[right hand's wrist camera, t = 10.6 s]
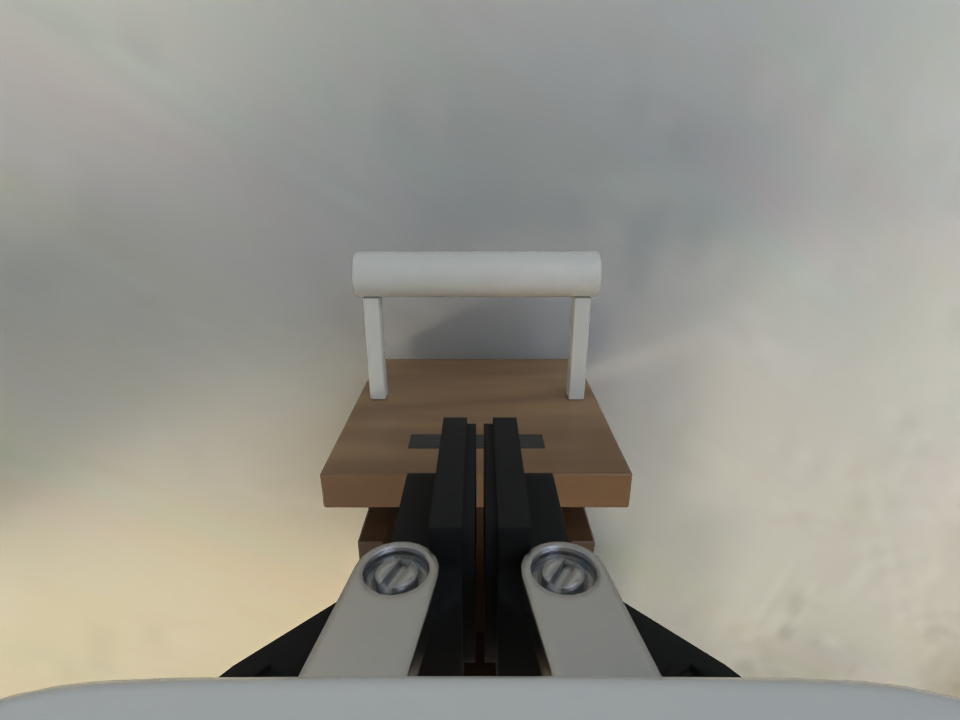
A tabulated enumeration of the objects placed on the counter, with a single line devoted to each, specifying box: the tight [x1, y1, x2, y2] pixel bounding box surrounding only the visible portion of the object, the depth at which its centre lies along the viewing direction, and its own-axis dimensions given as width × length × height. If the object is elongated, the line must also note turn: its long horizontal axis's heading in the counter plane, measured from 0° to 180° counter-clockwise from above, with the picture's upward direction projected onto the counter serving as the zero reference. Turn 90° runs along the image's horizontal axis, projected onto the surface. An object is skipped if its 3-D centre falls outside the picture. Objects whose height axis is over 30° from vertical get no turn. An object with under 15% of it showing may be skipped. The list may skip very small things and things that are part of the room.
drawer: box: [320, 251, 632, 676], centre depth 22 cm, size 22×9×10 cm, turn 0°
